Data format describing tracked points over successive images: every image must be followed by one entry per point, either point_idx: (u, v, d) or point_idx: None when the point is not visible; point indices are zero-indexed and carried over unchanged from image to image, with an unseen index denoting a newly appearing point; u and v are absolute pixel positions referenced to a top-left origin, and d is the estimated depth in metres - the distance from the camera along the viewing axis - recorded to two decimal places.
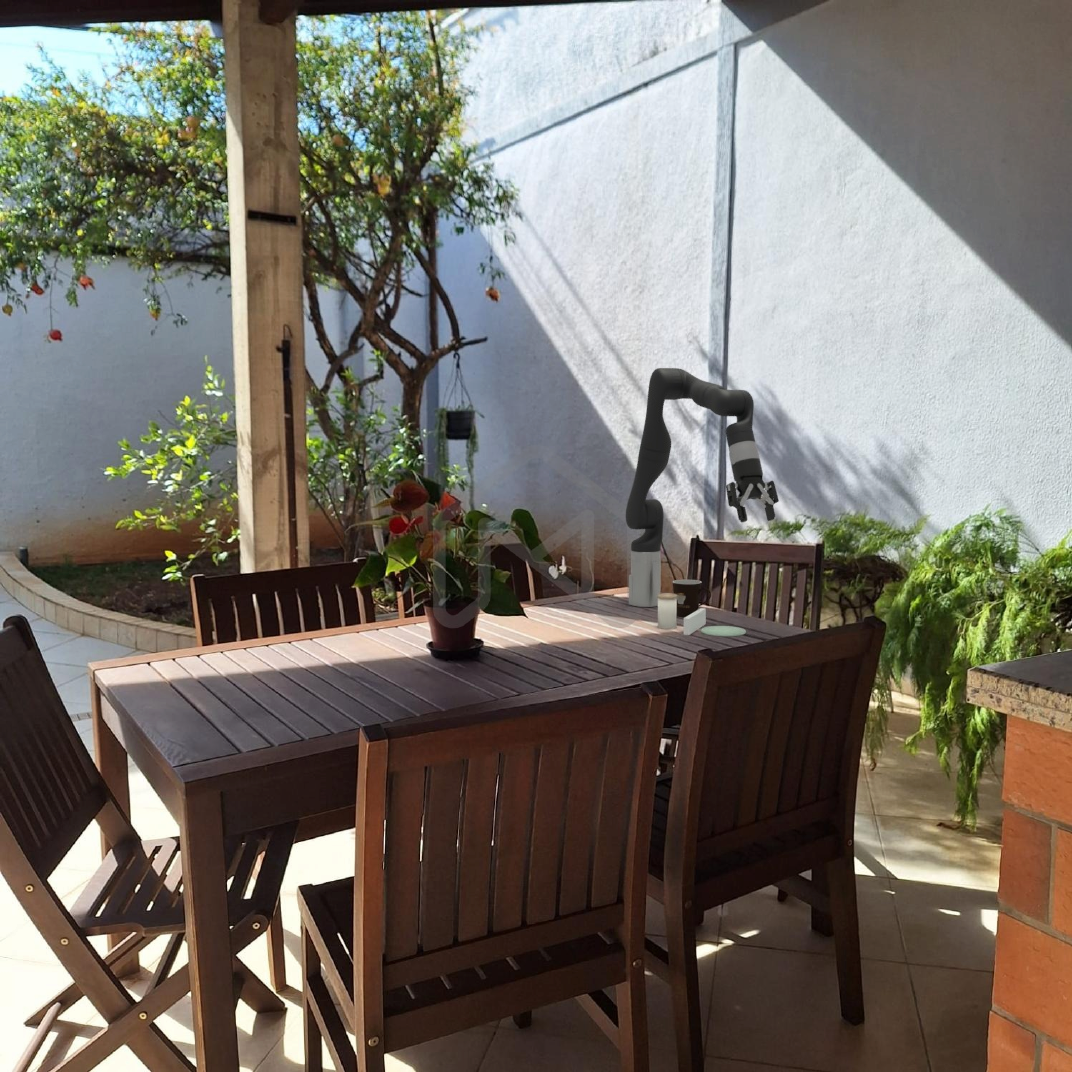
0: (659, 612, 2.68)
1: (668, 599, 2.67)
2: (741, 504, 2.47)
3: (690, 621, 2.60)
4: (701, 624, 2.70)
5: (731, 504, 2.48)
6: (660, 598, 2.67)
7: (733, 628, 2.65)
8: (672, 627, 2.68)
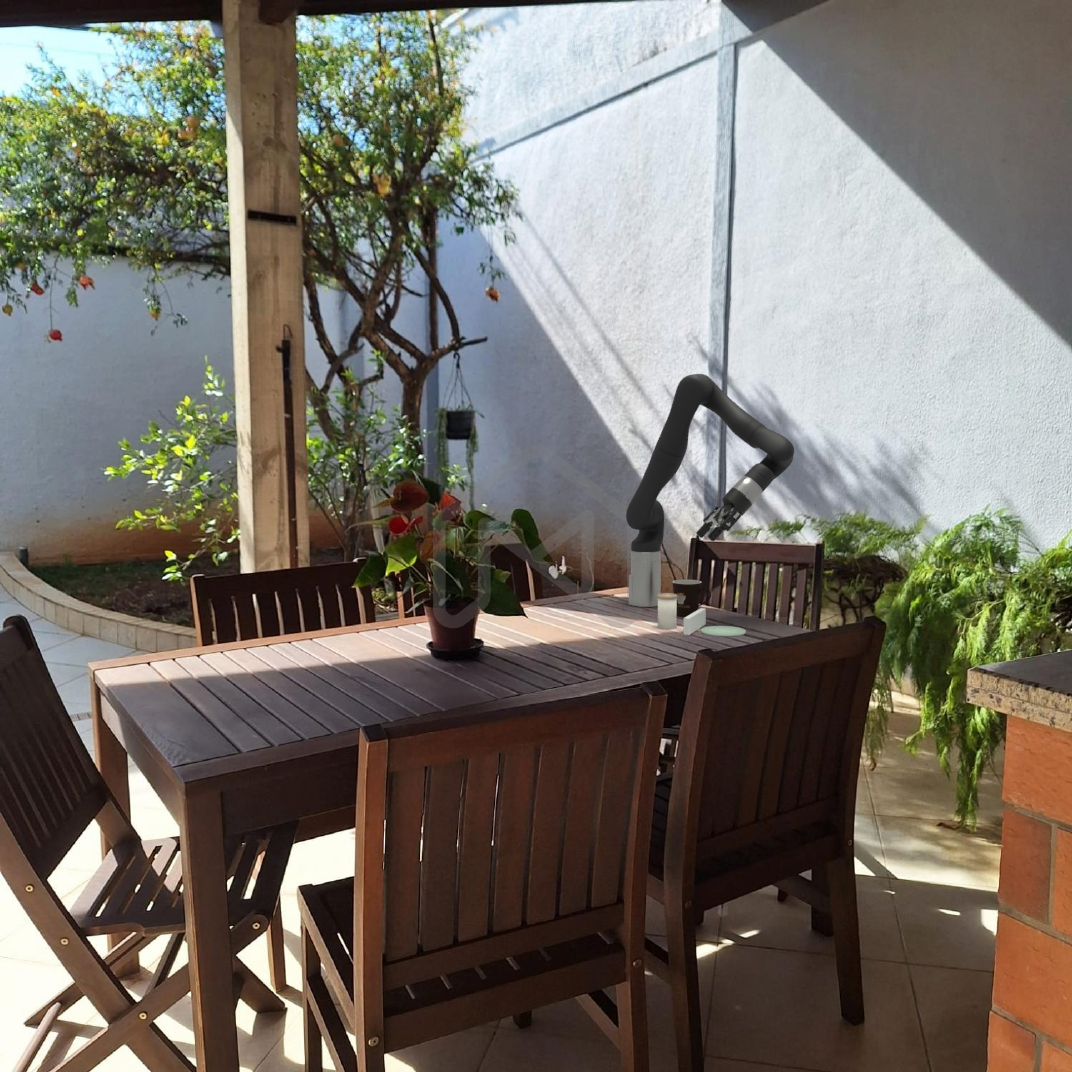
0: (659, 612, 2.68)
1: (668, 599, 2.67)
2: (724, 531, 2.68)
3: (690, 621, 2.60)
4: (701, 624, 2.70)
5: (725, 527, 2.65)
6: (660, 598, 2.67)
7: (733, 628, 2.65)
8: (672, 627, 2.68)
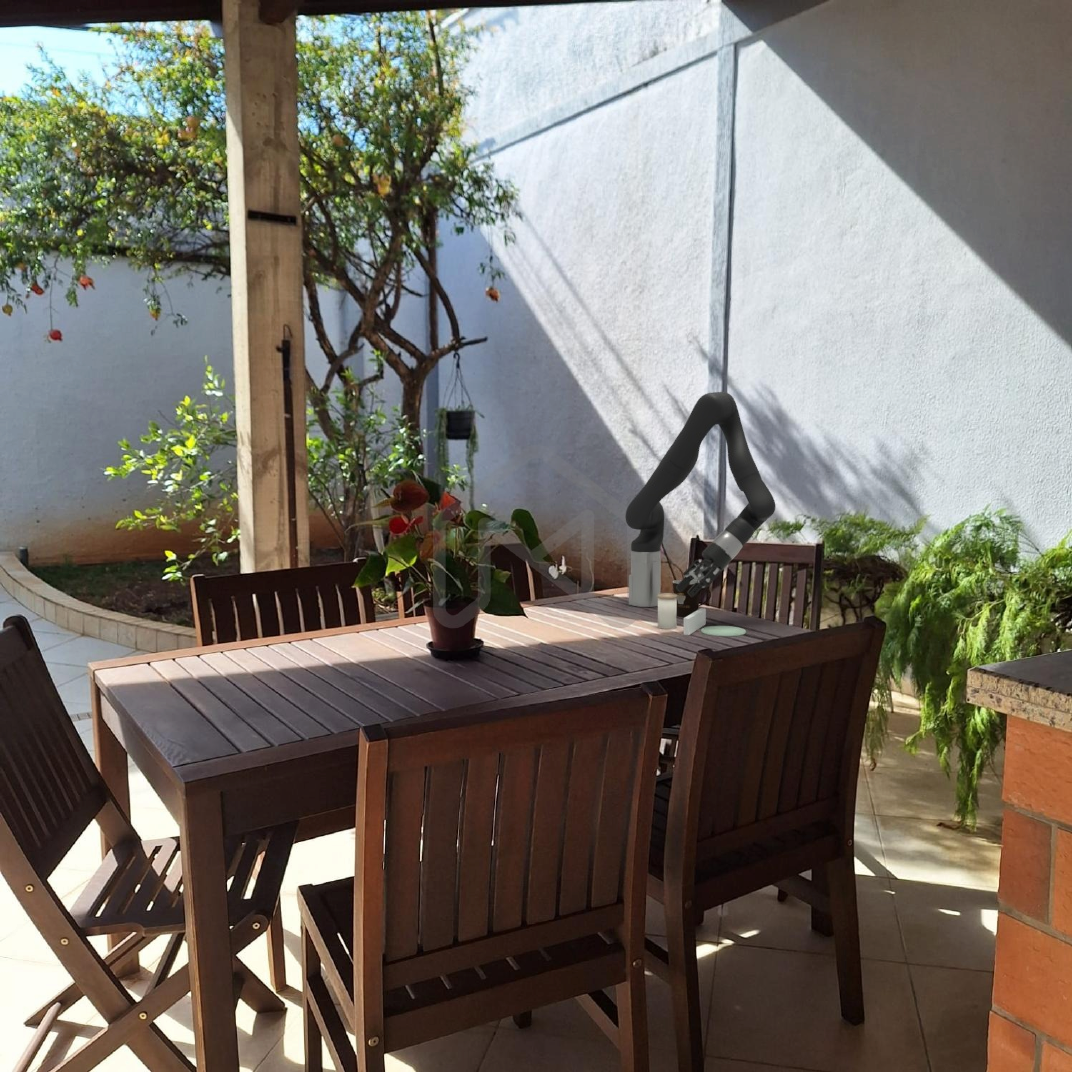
0: (659, 612, 2.68)
1: (668, 599, 2.67)
2: (703, 587, 2.66)
3: (690, 621, 2.60)
4: (701, 624, 2.70)
5: (704, 583, 2.64)
6: (660, 598, 2.67)
7: (733, 628, 2.65)
8: (672, 627, 2.68)
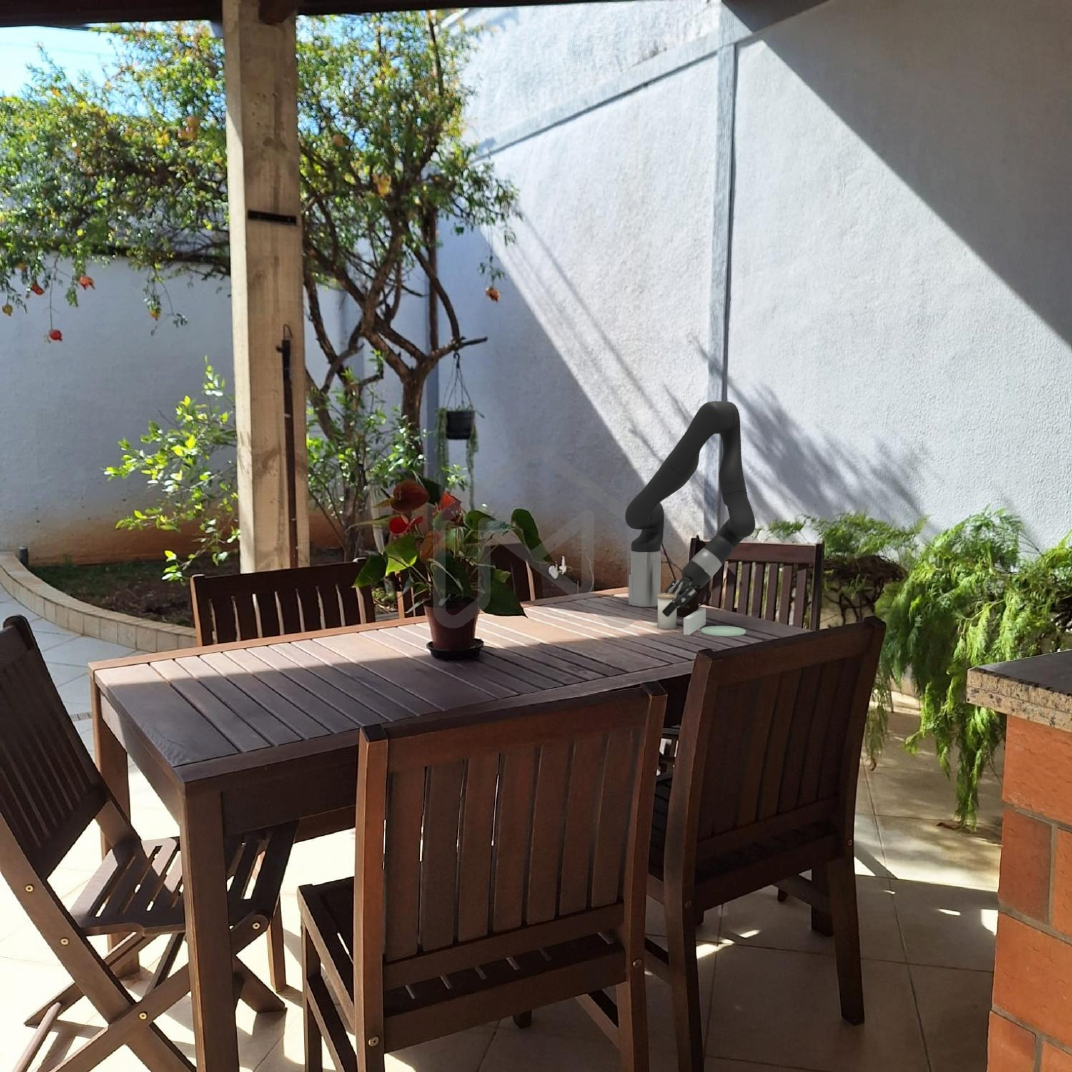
0: (659, 612, 2.68)
1: (668, 599, 2.67)
2: (678, 606, 2.66)
3: (690, 621, 2.60)
4: (701, 624, 2.70)
5: (678, 603, 2.64)
6: (660, 598, 2.67)
7: (733, 628, 2.65)
8: (672, 627, 2.68)
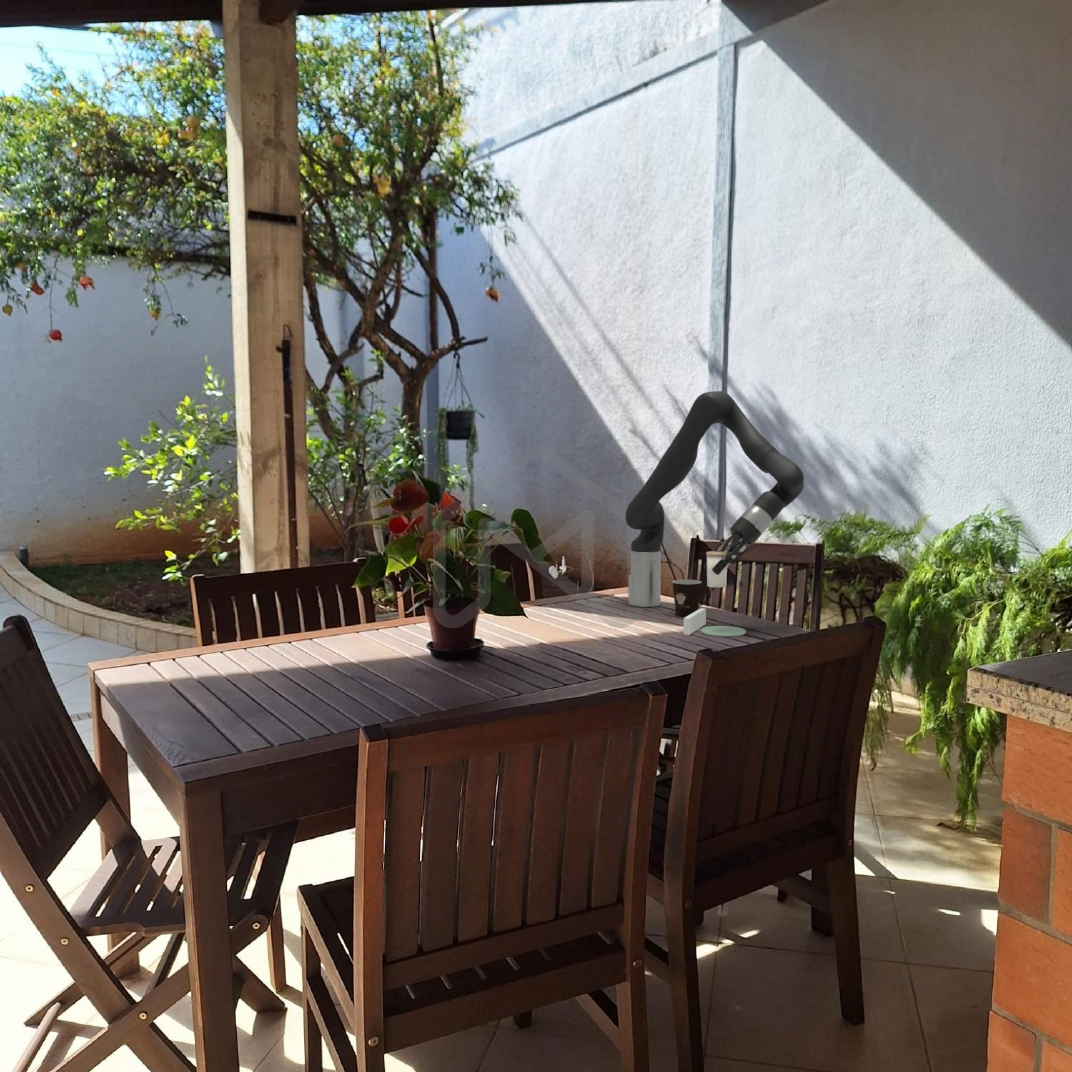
0: (708, 570, 2.61)
1: (718, 556, 2.59)
2: None
3: (690, 621, 2.60)
4: (701, 624, 2.70)
5: (729, 560, 2.56)
6: (709, 556, 2.60)
7: (733, 628, 2.65)
8: (722, 585, 2.60)
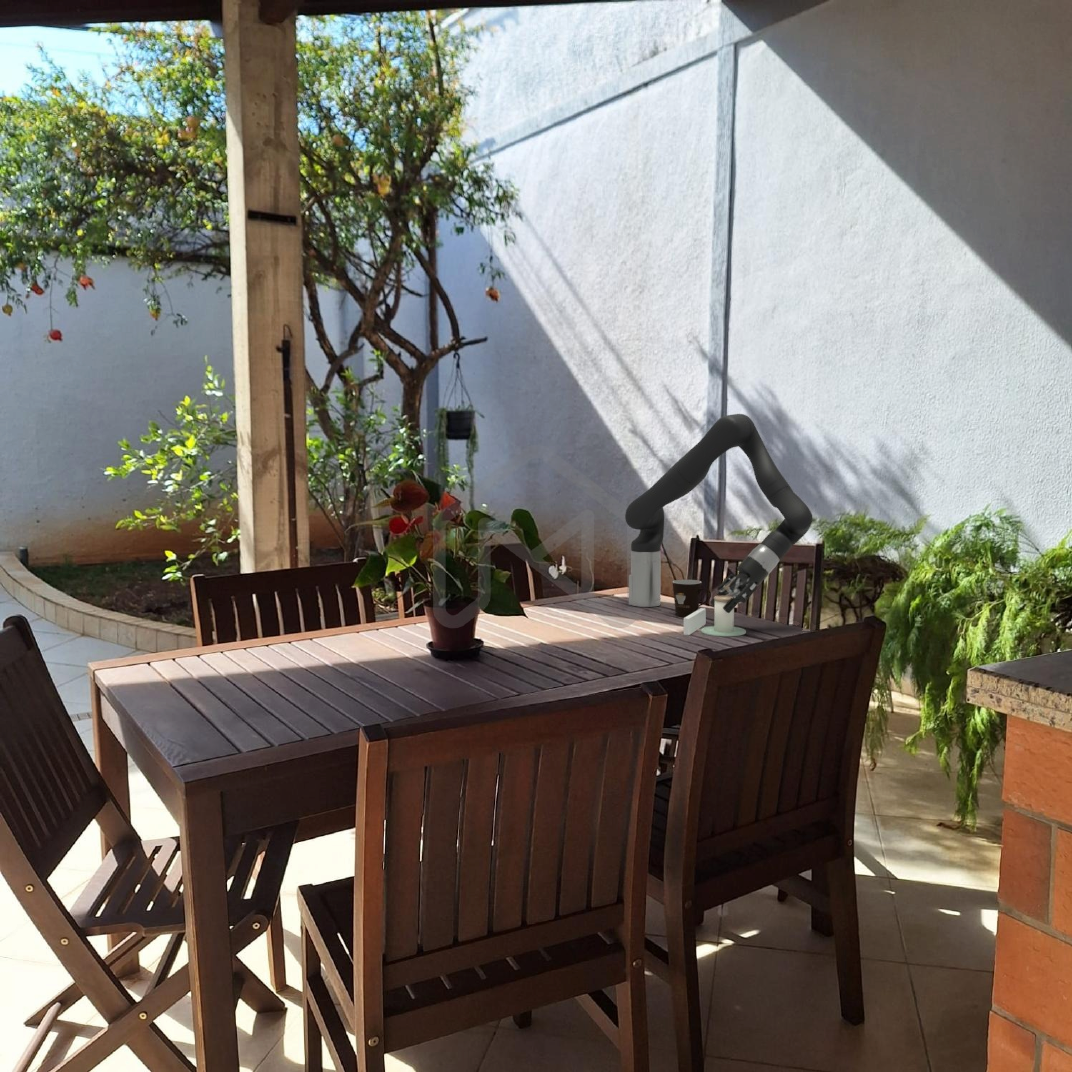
0: (716, 615, 2.61)
1: (726, 602, 2.59)
2: (740, 602, 2.58)
3: (690, 621, 2.60)
4: (701, 624, 2.70)
5: (741, 599, 2.56)
6: (717, 600, 2.60)
7: None
8: (729, 630, 2.61)
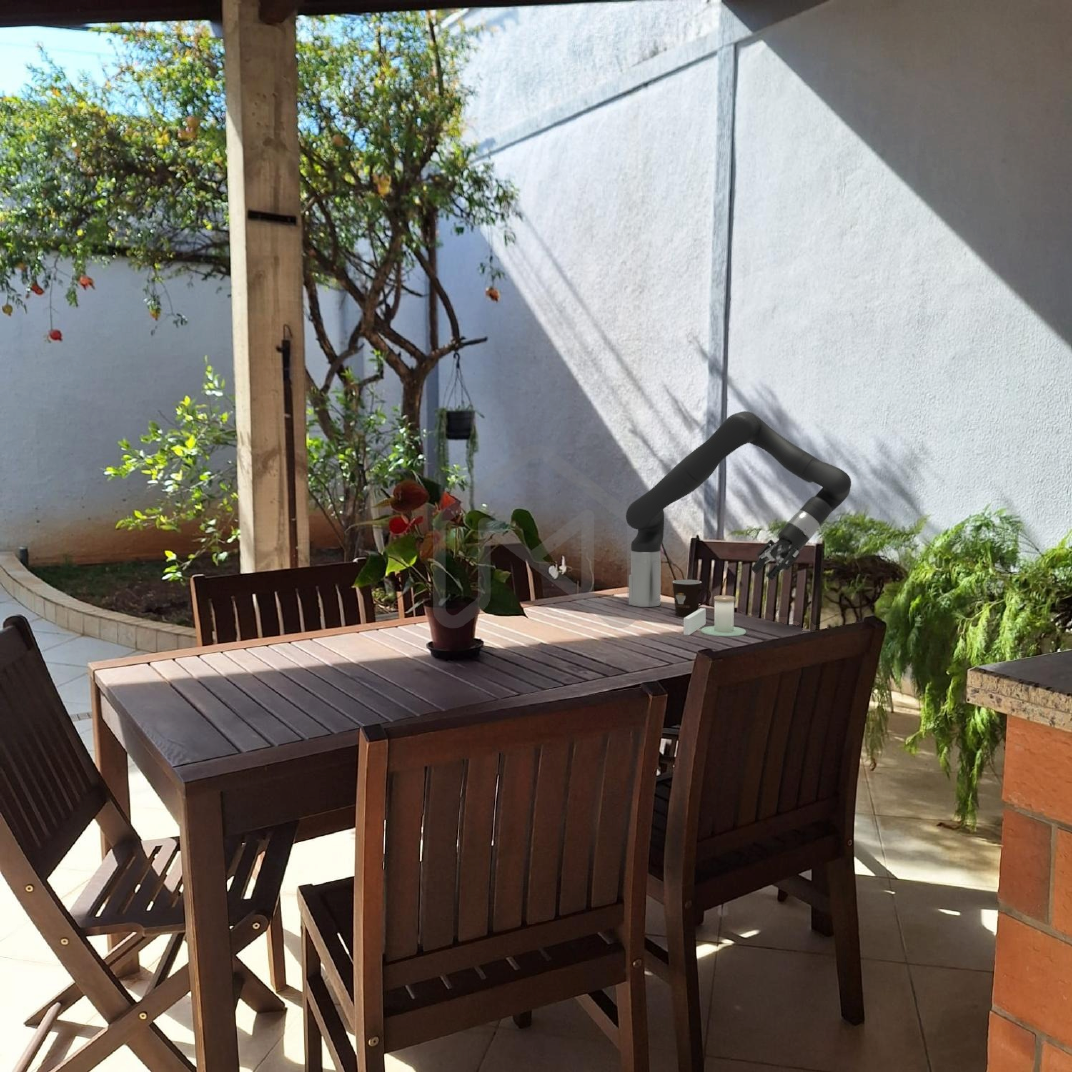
0: (716, 615, 2.61)
1: (726, 602, 2.59)
2: None
3: (690, 621, 2.60)
4: (701, 624, 2.70)
5: (784, 566, 2.59)
6: (717, 601, 2.60)
7: None
8: (729, 630, 2.61)
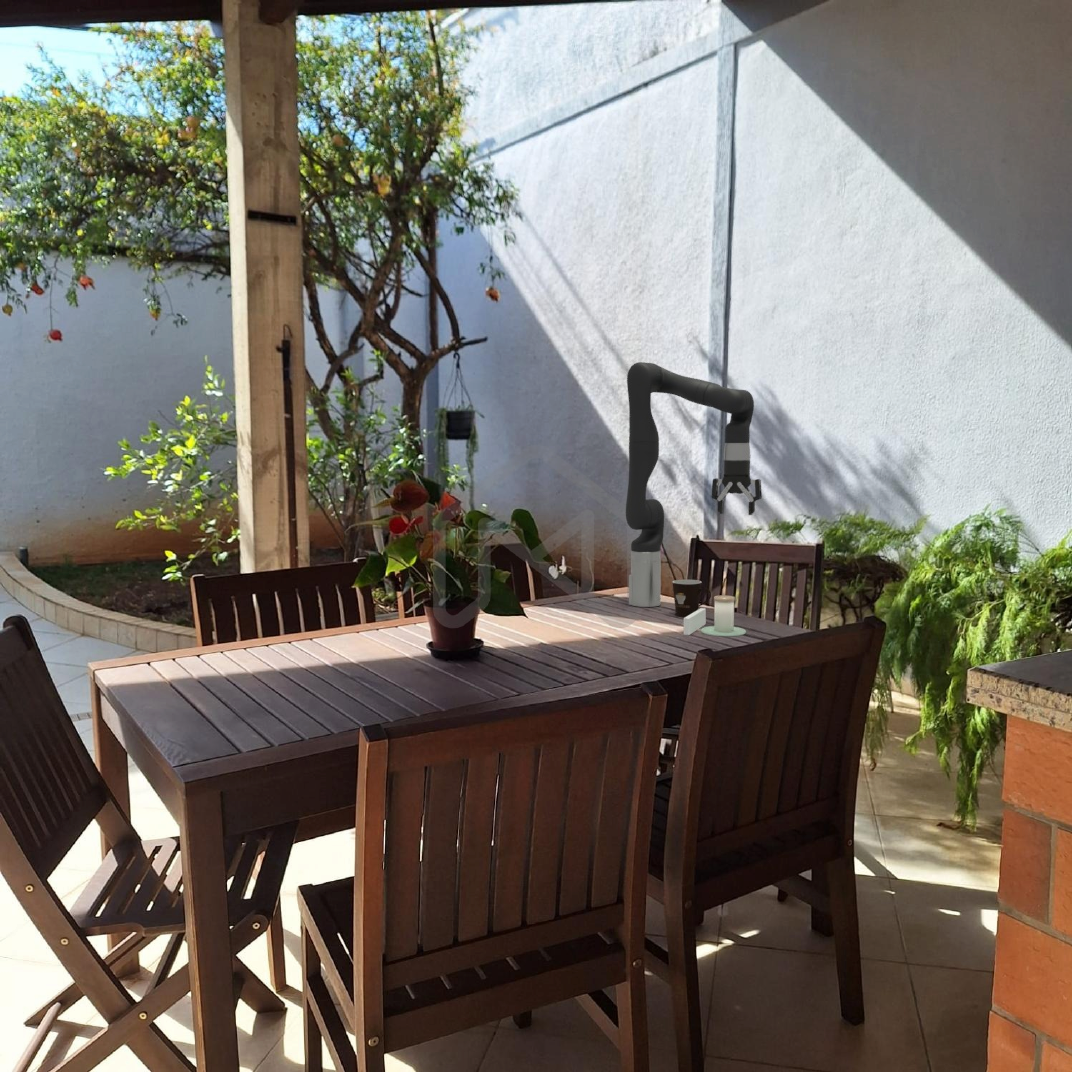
0: (716, 615, 2.61)
1: (726, 602, 2.59)
2: None
3: (690, 621, 2.60)
4: (701, 624, 2.70)
5: (759, 498, 2.79)
6: (717, 601, 2.60)
7: None
8: (729, 630, 2.61)
